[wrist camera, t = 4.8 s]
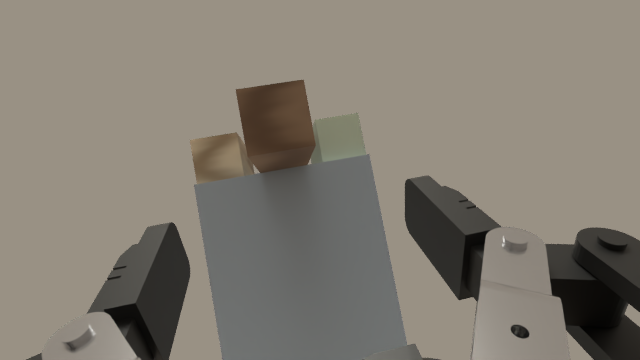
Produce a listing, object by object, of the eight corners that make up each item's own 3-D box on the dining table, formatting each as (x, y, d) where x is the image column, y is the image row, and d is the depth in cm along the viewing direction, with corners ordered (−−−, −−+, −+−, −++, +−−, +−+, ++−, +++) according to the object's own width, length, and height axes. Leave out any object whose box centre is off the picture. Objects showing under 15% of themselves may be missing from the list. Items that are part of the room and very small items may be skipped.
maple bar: (197, 185, 28) (189, 139, 29) (222, 191, 39) (217, 158, 39) (244, 177, 29) (236, 132, 29) (256, 185, 40) (250, 153, 40)
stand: (261, 596, 25) (194, 184, 27) (270, 465, 38) (224, 192, 40) (445, 539, 27) (369, 153, 29) (394, 431, 40) (344, 170, 42)
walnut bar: (247, 156, 19) (235, 89, 19) (269, 183, 41) (263, 152, 41) (316, 145, 19) (303, 79, 20) (301, 178, 41) (295, 146, 41)
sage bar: (323, 163, 29) (314, 119, 30) (313, 175, 40) (307, 143, 41) (366, 155, 30) (357, 113, 30) (345, 169, 41) (339, 138, 41)
